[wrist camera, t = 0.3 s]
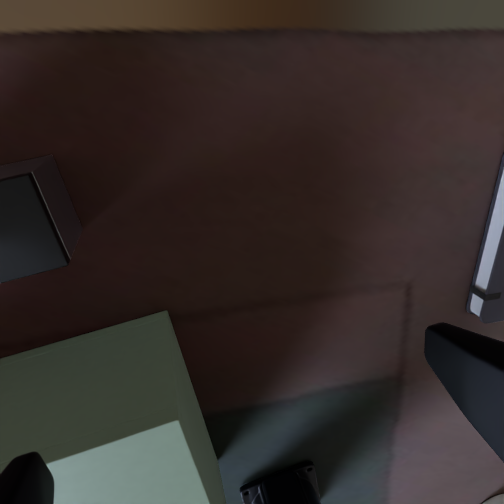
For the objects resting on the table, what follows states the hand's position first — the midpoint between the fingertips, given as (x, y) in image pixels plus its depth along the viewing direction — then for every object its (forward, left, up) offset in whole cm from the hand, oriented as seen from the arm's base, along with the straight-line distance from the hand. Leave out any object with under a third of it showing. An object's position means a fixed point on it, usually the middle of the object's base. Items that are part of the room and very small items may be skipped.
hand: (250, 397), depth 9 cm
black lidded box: (+2, +9, -14) cm, 17 cm away
